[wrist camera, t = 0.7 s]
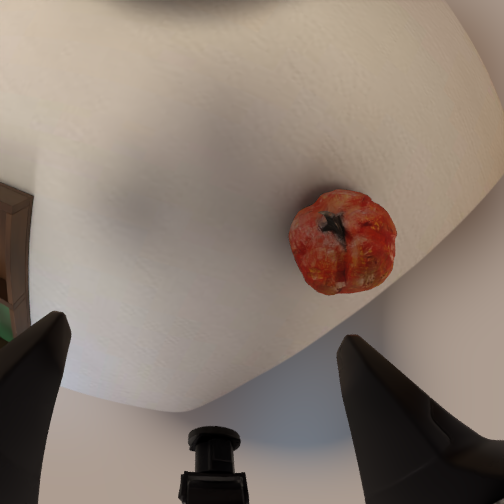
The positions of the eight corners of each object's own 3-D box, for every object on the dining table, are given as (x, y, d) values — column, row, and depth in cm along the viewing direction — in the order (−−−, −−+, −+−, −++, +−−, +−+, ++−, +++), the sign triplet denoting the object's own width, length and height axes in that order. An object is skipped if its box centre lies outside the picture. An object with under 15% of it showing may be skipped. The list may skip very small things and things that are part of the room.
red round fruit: (368, 216, 24) (366, 140, 15) (403, 288, 21) (431, 238, 12) (294, 247, 26) (258, 185, 17) (322, 323, 22) (299, 296, 14)
